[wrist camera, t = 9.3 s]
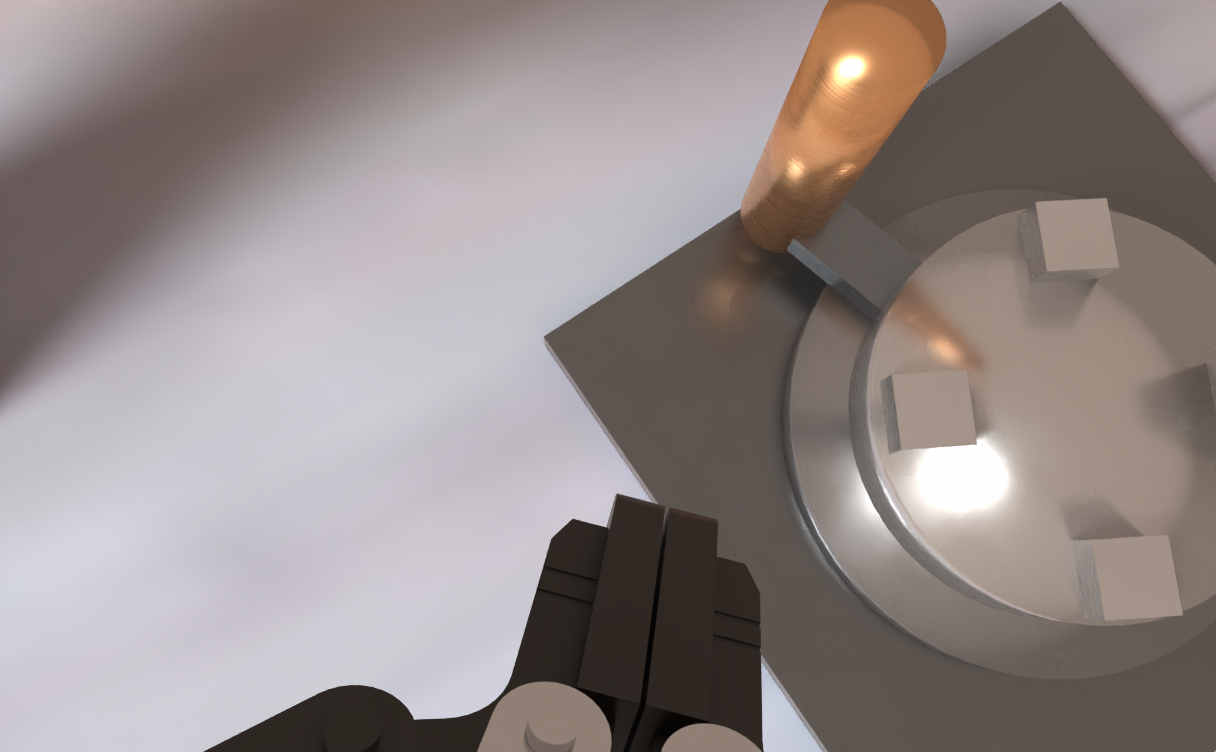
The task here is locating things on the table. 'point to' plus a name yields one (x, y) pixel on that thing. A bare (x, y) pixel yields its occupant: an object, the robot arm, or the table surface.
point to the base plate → (730, 379)
